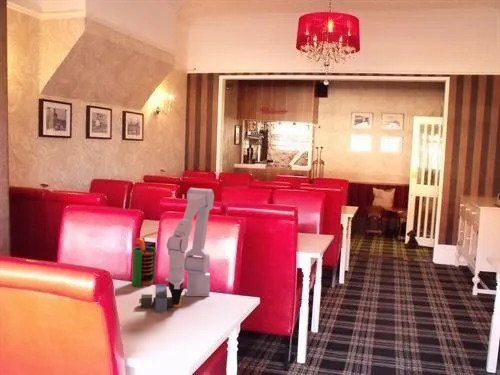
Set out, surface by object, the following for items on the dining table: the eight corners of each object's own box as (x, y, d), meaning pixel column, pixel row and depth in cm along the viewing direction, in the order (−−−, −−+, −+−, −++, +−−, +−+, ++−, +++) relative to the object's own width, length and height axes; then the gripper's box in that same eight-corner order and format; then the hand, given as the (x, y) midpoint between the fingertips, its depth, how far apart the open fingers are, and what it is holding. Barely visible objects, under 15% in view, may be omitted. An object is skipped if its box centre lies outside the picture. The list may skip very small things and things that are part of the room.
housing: (165, 300, 190) (166, 284, 190) (166, 312, 177) (167, 295, 176) (155, 300, 190) (155, 284, 189) (155, 312, 176) (156, 295, 175)
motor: (147, 288, 205) (148, 242, 203) (127, 286, 207) (128, 240, 205) (156, 282, 215) (157, 238, 213) (137, 280, 217) (139, 236, 215)
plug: (180, 303, 187) (181, 293, 186) (181, 307, 182) (181, 297, 182) (139, 304, 184) (139, 294, 183) (138, 308, 179) (139, 298, 179)
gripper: (165, 262, 189) (164, 296, 190) (166, 272, 175) (165, 308, 176) (183, 262, 191) (182, 296, 192) (186, 272, 177) (184, 308, 178)
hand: (175, 302), depth 184 cm, fingers open, 5 cm apart
